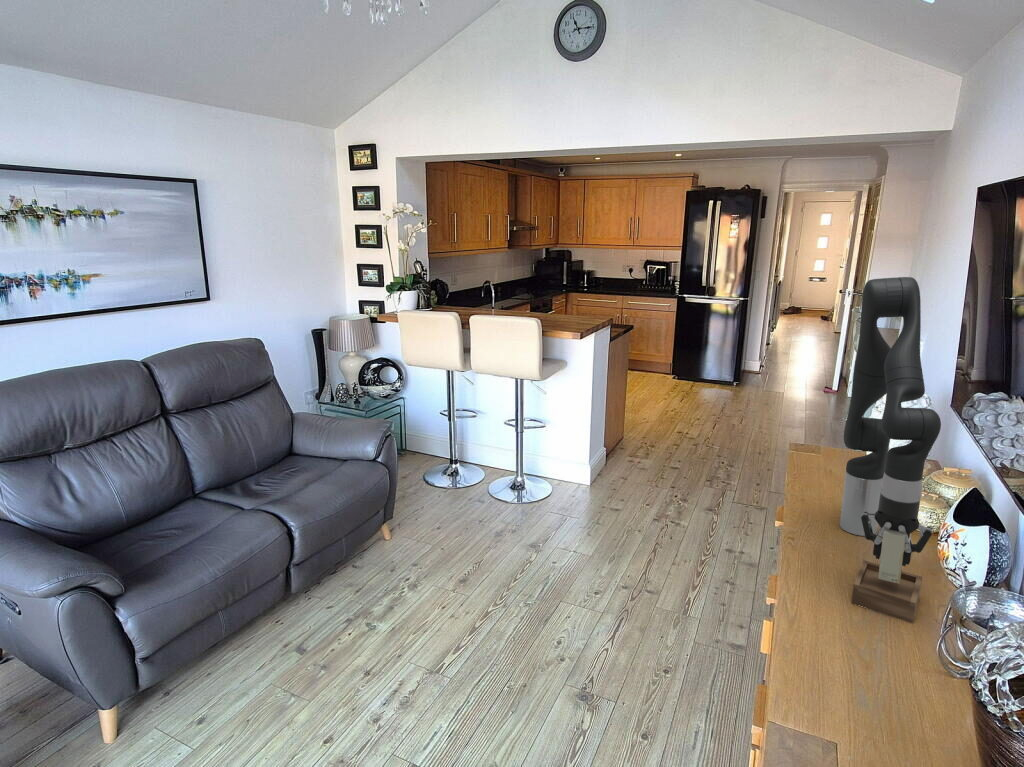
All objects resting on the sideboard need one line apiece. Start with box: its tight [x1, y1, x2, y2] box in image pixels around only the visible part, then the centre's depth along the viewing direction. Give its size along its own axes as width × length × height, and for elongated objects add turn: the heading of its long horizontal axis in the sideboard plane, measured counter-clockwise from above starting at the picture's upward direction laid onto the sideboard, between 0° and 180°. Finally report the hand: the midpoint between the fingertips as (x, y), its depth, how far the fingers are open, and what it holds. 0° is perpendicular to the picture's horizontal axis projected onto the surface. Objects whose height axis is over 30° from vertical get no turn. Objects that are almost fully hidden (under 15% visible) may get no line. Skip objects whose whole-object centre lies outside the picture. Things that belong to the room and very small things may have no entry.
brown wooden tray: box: [850, 560, 923, 624], centre depth 137 cm, size 12×12×6 cm
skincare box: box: [878, 530, 906, 584], centre depth 135 cm, size 6×4×12 cm
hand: (890, 560), depth 135 cm, fingers closed on skincare box, 4 cm apart
